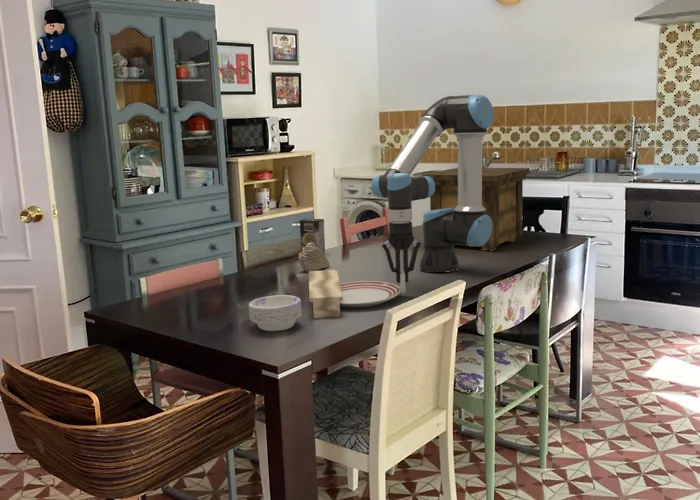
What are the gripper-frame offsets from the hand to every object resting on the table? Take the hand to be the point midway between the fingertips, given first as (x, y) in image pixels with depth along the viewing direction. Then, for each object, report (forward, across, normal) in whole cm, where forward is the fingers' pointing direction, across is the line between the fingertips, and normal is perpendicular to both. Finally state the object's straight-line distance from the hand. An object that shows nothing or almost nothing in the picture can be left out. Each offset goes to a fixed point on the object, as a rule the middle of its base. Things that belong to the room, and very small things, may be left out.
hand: (402, 292), depth 229 cm
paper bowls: (+2, -41, -25) cm, 48 cm away
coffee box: (+2, -28, +76) cm, 81 cm away
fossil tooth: (+2, -29, +48) cm, 56 cm away
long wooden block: (+2, -26, 0) cm, 26 cm away
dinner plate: (+2, -14, 0) cm, 15 cm away
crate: (+2, +46, +83) cm, 95 cm away
